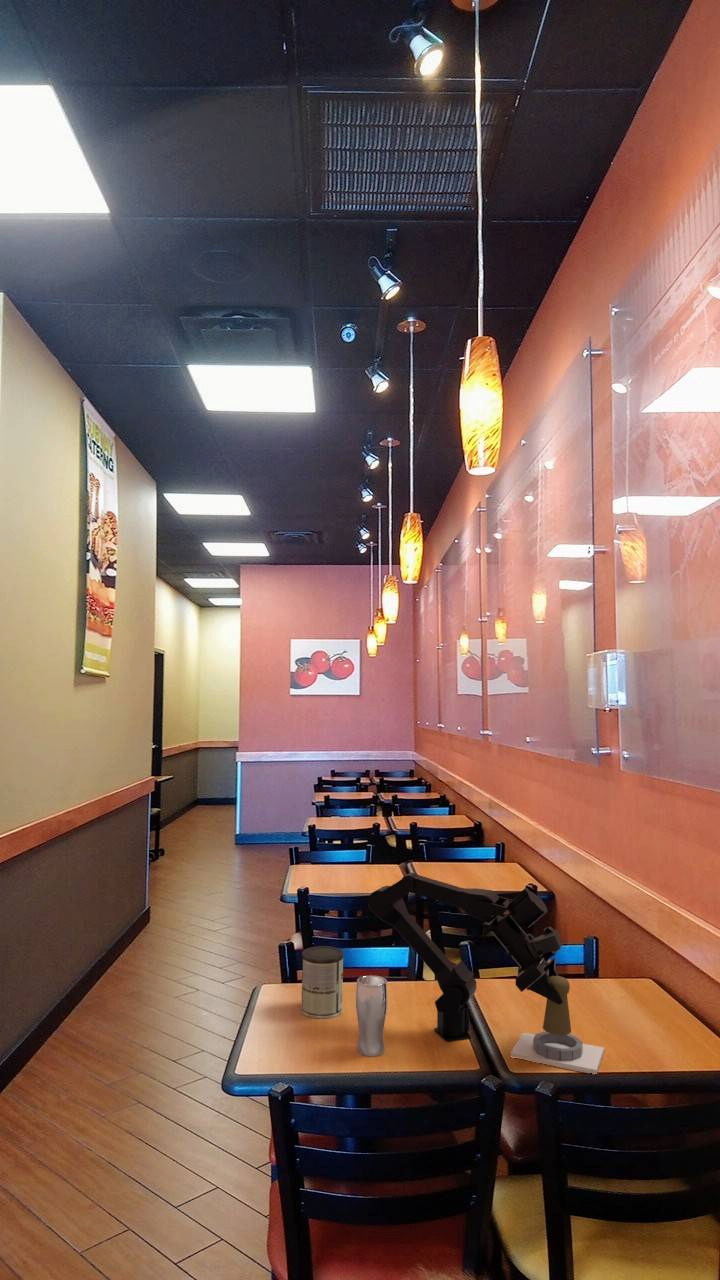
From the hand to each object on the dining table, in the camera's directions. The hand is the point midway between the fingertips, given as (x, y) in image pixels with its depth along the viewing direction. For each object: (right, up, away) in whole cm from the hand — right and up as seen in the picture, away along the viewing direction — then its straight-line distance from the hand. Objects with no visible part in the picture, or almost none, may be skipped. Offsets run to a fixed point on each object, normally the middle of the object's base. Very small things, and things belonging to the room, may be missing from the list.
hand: (563, 999), depth 177 cm
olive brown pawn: (-1, -7, 0) cm, 7 cm away
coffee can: (-54, -13, +22) cm, 60 cm away
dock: (-1, -12, 0) cm, 12 cm away
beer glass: (-42, -11, 0) cm, 44 cm away
